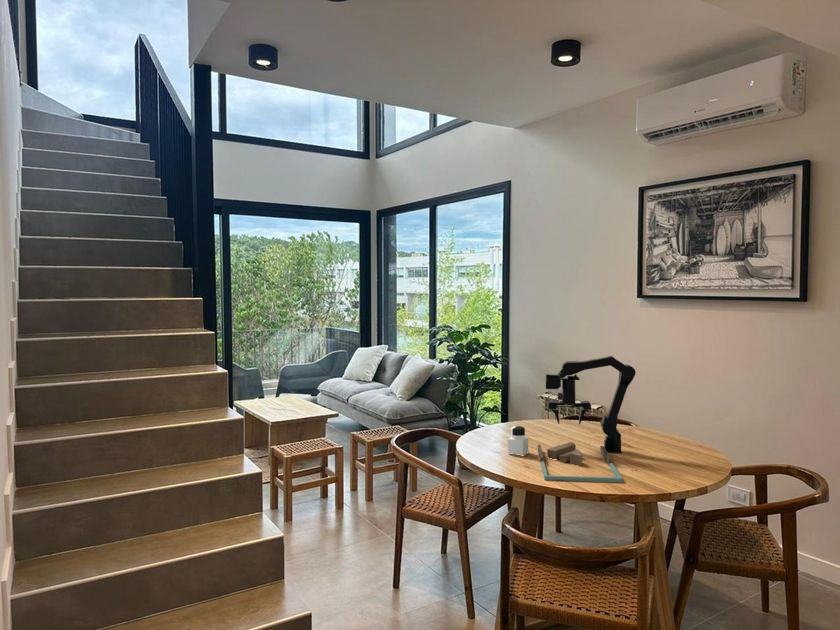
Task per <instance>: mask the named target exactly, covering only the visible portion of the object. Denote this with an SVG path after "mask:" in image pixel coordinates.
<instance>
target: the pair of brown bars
mask: <svg viewBox="0 0 840 630" xmlns="http://www.w3.org/2000/svg"><path fill="white" fill-rule="evenodd" d="M599 447H600V452H601V453H600V454H601V456H602V457H604V458H603V459H604V461H605V462H606V464H607V465H608V466H609V463H613V459H612V457H611V455H610V453H608V452H607V451H606V449H605V448H604V445H600V446H599ZM537 453H539V454H538V458H539V457H540V459H539V463H540V462H541V461H543V462H544V463H545V457H544V454H543V448H542V445H541V444H537Z"/></svg>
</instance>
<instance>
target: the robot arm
mask: <svg viewBox="0 0 840 630" xmlns="http://www.w3.org/2000/svg"><path fill="white" fill-rule="evenodd" d="M561 365H562V366H561V369H560V370H559V372H558V373H557V374H549V373H546V374H545V390H559V389H560V388H562V389H561V390H562V392H557V400H548V401H547V406H546V407H547V409H548V410H550V411H551V412H553V413H554V415H555V418H556V421H557V424H558V425H559V424H560V416H559V415H560V413H559V409H558V408H579V415H578V424H579V425H581V423H582V421H583V418H584V416H585V415H586V412H589V410H592V404H591V402H590V401H589V400H580V402H576V381H580V380H581V379H580V377H579V376H578V375H577V374H578V373H581V372H583V371H585V370H587V371H588V370H592V369H598V368H604V367H608V366H609V367H610V366H611V367H612V368H613V369H615V370H616V371H618V383H617V386H616V389H615V391H614V396H613V398H612V401H611V402H610V403H611V404H610V407H609V410H608V412H607V413H606V415H605V414H602V418H601V420H600V422H599V423H600V427H601V428H600V429H601V430H602V432H603V433H604V434H605V435H606V436H604V440H603V446H604V448H605V449H606V451H607V452H608V454H610V453H611V454H612V453H614V454H615V453H616V454H617V453H619V454H622V453H623V451H622V434H621V433H620V431H619V429H617V428H618V427H617V426H618V417H619V413H620V410H621V407H622V404H623V401H624V399H625V395H626V392H627V389H628V387H629V386H630V384H631V383H632V381H633V380H634V378H635V376H636V374H637V373H636V370H635V368H634V367H633V366H631V364H624V363H622V362H621V361H620V360H617V359H616V358H615V357H614V356H613V355H609V356H608V355H607V356H604V357H600V358H599V357H598V358H593V359H588V360H583V361H578V360H576V361H575V360H571V361H570V360H569V361H567V360H566V361H565V362H563V363H562V364H561ZM557 401H561V402H557Z"/></svg>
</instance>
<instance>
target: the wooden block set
mask: <svg viewBox="0 0 840 630" xmlns="http://www.w3.org/2000/svg"><path fill="white" fill-rule="evenodd" d="M576 447H577V446H576V444H575V442H571V441H570V442H567V443H563V444H559V445H555V446H552V447H548V448H547V452H546V453H547V457H549V458H552V459H559V460H558V461H559V462H560V463H562V462H564V463H567V462H569V464H570V463H571V464H570V465H573V464H574V466H577V465H578V467H583V456H582V452H581V450H579V449H577V448H576ZM552 459H551V460H552Z"/></svg>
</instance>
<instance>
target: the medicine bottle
mask: <svg viewBox="0 0 840 630" xmlns="http://www.w3.org/2000/svg"><path fill="white" fill-rule="evenodd" d="M527 452H528V453H529V436H526V428H525V427H524V426H520V425H515V426H512V427H511V428H510V437H509V438H507V454H508V453H513V454H520V455H524V454H525V453H527ZM528 453H527V454H528ZM524 456H525V455H524Z"/></svg>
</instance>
